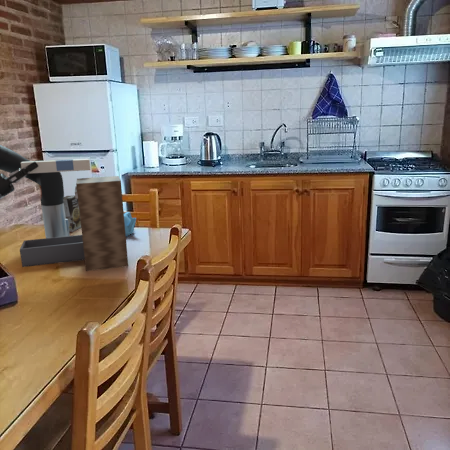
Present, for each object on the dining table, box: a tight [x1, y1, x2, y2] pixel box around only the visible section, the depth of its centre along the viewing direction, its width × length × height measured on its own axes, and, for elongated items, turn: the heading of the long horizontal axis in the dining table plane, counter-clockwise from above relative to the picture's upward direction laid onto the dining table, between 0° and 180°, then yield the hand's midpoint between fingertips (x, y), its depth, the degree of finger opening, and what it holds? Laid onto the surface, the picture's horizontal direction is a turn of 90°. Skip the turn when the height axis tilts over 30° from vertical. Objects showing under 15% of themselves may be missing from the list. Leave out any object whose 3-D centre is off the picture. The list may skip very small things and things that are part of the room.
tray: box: [19, 234, 85, 268], centre depth 173 cm, size 31×12×7 cm, turn 107°
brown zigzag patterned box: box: [74, 175, 129, 272], centre depth 162 cm, size 16×12×32 cm
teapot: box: [124, 211, 137, 237], centre depth 203 cm, size 15×15×11 cm
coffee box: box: [63, 195, 81, 233], centre depth 213 cm, size 9×6×16 cm
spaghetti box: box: [21, 158, 91, 173], centre depth 165 cm, size 24×4×4 cm, turn 107°
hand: (37, 163), depth 163 cm, fingers closed on spaghetti box, 4 cm apart
